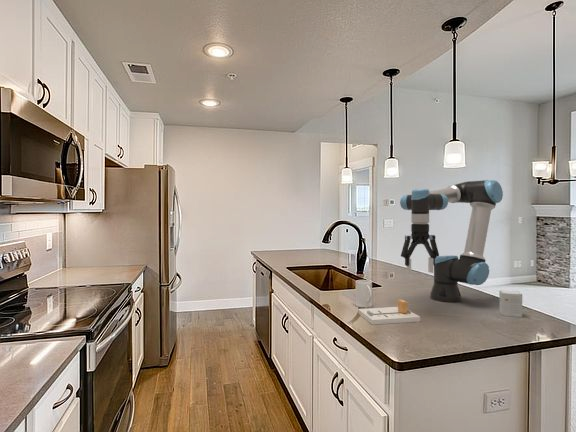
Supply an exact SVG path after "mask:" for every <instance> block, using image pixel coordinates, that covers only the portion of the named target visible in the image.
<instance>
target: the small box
mask: <svg viewBox="0 0 576 432" xmlns="http://www.w3.org/2000/svg"><path fill="white" fill-rule="evenodd" d="M498 295H499V302H498V303H499V308H498V309H499V314H500V315H501V316H504V317H516V318H523V294H522V293H521V292H520V291H516V290H515V291H514V290H502V289H501V290H499V294H498Z"/></svg>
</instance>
